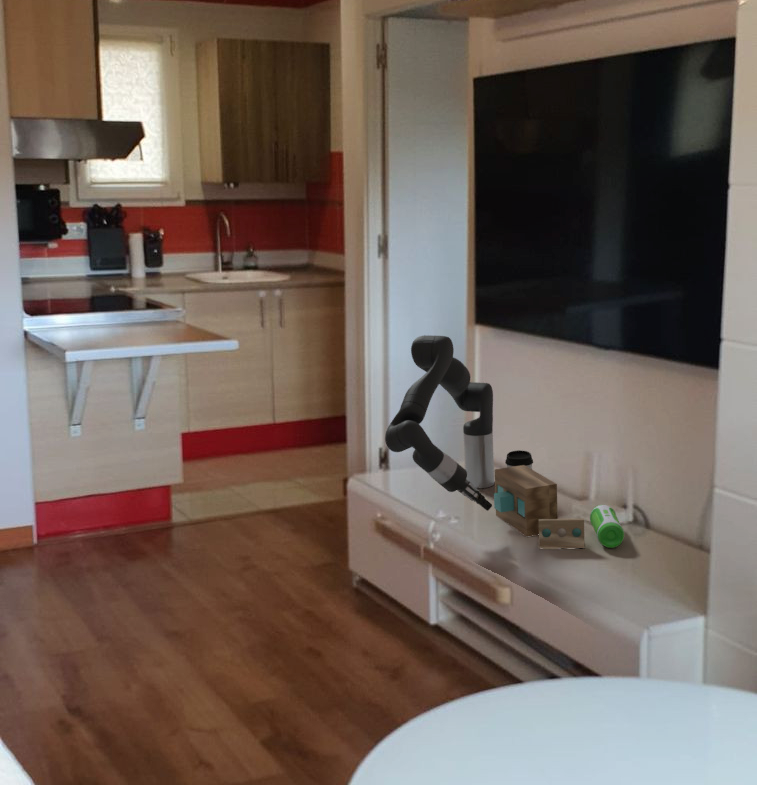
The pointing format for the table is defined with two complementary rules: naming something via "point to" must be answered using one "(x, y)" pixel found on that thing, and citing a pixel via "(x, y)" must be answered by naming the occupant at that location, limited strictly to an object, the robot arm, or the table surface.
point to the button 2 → (521, 507)
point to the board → (561, 533)
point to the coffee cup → (519, 459)
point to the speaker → (606, 526)
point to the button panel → (527, 497)
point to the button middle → (504, 501)
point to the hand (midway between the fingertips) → (489, 507)
